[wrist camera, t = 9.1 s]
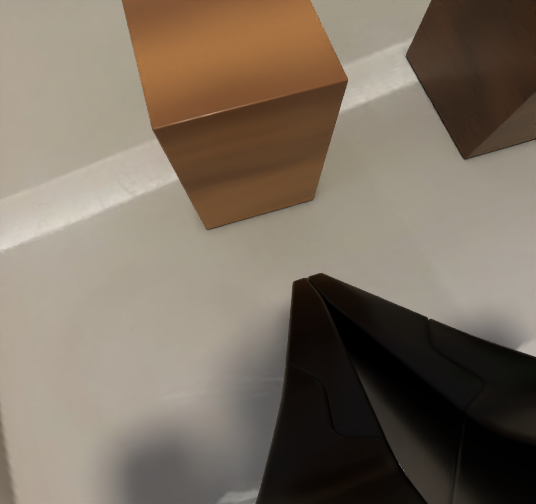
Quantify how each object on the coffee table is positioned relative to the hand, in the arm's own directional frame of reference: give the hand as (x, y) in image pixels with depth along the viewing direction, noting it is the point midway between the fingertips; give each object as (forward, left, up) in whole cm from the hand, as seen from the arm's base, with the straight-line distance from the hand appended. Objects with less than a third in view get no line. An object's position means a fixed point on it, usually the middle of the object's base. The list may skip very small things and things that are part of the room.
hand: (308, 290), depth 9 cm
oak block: (+9, -4, -7) cm, 12 cm away
